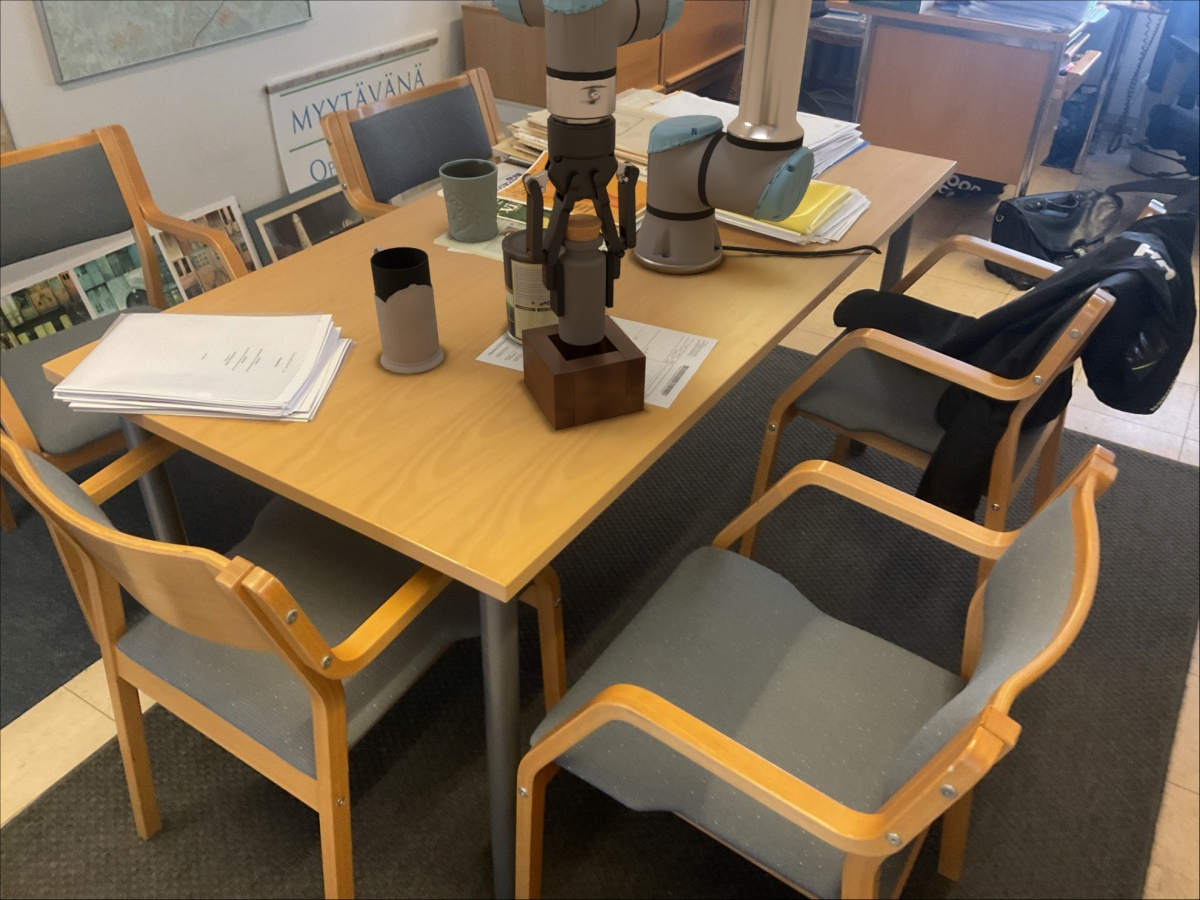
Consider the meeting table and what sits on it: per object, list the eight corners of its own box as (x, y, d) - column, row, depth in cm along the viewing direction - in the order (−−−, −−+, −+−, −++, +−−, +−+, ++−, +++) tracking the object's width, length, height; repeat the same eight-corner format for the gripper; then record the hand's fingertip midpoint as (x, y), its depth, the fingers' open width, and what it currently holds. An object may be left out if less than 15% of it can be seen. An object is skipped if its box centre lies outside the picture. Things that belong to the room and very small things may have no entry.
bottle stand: (607, 365, 125) (607, 314, 120) (643, 410, 116) (646, 356, 111) (524, 382, 121) (521, 330, 117) (555, 430, 112) (553, 374, 108)
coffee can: (492, 330, 133) (486, 240, 125) (544, 309, 139) (541, 221, 131) (538, 355, 127) (535, 262, 119) (590, 331, 133) (590, 241, 125)
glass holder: (394, 380, 122) (379, 277, 113) (358, 337, 131) (341, 239, 123) (453, 363, 125) (443, 262, 117) (414, 322, 135) (402, 227, 126)
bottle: (569, 349, 110) (567, 232, 101) (551, 328, 114) (549, 215, 106) (612, 341, 112) (615, 225, 103) (593, 320, 116) (594, 208, 108)
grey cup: (506, 224, 167) (502, 160, 160) (494, 245, 159) (490, 179, 152) (453, 221, 168) (447, 157, 161) (438, 242, 160) (432, 176, 153)
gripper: (509, 132, 92) (518, 334, 105) (674, 115, 98) (663, 307, 111) (488, 113, 97) (499, 307, 111) (645, 98, 103) (638, 283, 117)
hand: (581, 307), depth 111 cm, fingers closed on bottle, 6 cm apart
